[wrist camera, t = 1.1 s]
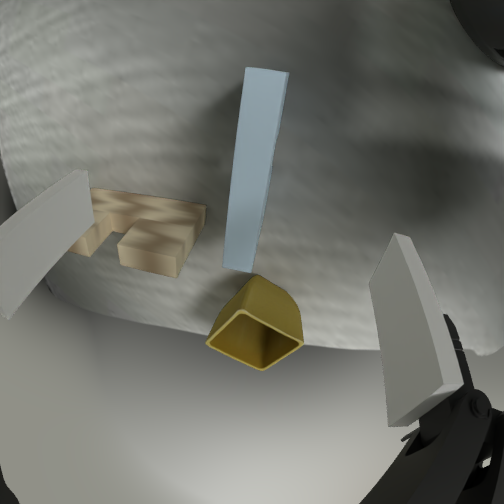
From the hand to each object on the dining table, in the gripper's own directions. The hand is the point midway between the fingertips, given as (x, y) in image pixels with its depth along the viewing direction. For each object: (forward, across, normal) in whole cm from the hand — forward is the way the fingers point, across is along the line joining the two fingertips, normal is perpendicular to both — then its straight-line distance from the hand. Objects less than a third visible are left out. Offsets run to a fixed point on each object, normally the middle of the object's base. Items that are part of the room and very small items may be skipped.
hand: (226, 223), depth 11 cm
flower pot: (+19, +3, -22) cm, 29 cm away
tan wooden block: (+19, -14, -12) cm, 26 cm away
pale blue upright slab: (+19, 0, -2) cm, 19 cm away
